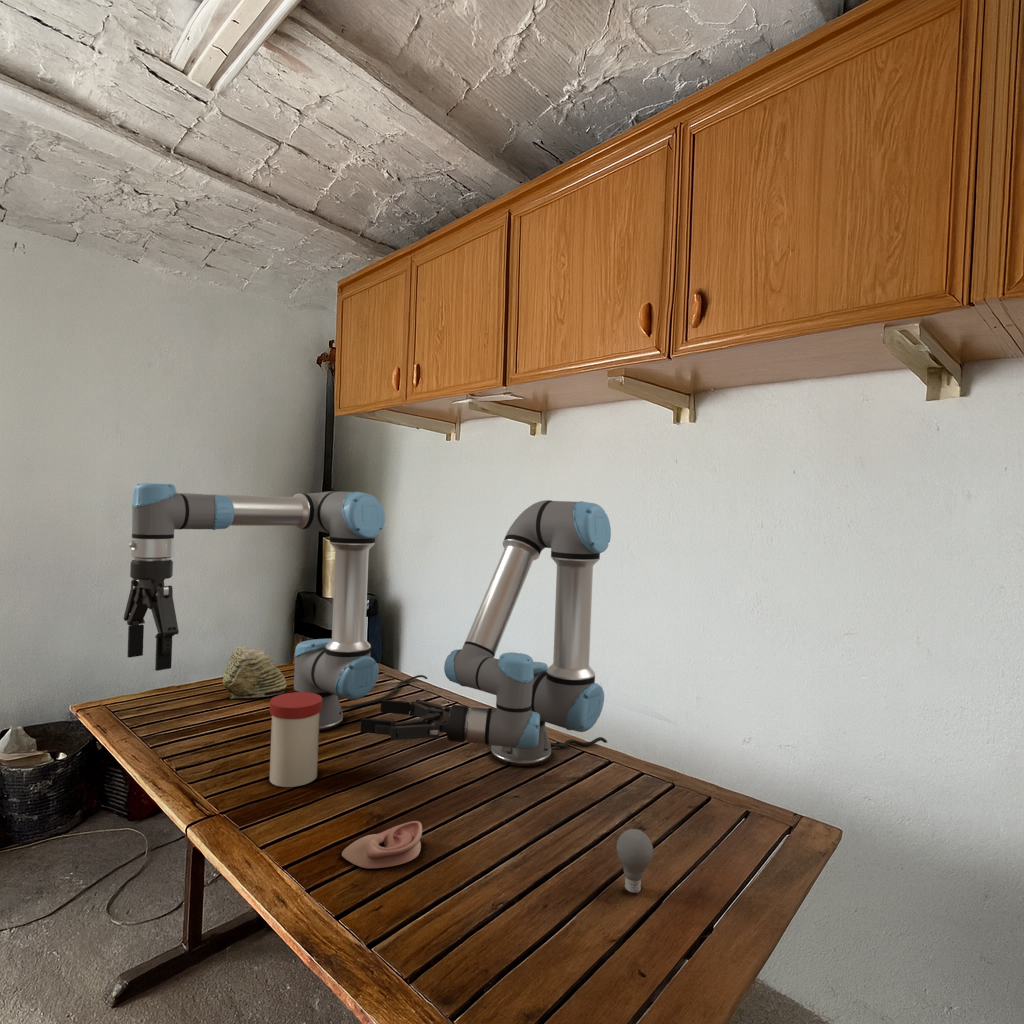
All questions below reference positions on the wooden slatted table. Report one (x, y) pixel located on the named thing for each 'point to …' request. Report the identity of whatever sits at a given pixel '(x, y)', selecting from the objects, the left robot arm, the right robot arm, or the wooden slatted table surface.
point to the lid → (295, 705)
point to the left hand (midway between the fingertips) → (148, 662)
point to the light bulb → (634, 857)
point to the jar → (294, 750)
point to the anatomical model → (386, 847)
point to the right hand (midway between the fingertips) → (371, 714)
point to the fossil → (252, 674)
